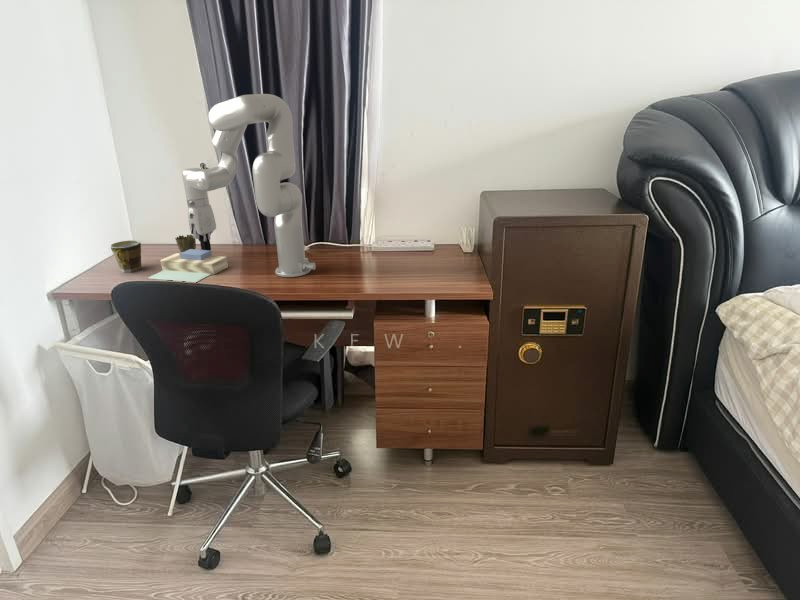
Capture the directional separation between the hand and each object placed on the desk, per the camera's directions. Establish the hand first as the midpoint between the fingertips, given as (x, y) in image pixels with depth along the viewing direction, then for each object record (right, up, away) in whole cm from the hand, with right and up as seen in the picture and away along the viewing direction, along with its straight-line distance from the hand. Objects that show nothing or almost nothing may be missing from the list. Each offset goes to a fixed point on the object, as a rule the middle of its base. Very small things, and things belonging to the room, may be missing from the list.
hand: (206, 250), depth 199 cm
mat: (-5, -11, -13) cm, 18 cm away
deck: (-2, -7, -5) cm, 9 cm away
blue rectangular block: (-2, -3, -5) cm, 7 cm away
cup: (-11, -1, +10) cm, 15 cm away
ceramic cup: (-26, -8, -6) cm, 28 cm away
